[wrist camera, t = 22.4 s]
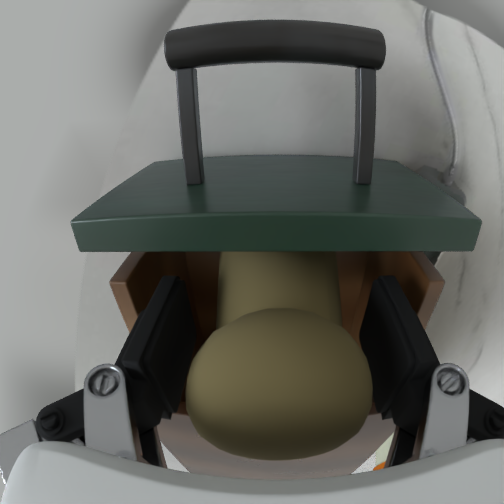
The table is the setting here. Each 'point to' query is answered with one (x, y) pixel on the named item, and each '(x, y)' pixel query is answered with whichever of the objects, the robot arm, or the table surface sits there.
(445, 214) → the drawer
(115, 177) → the table surface
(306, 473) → the cabinet
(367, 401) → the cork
